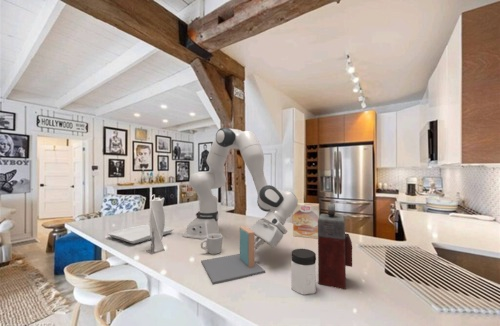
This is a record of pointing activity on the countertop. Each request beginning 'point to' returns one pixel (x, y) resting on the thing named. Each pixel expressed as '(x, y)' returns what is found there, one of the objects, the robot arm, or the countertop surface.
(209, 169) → the robot arm
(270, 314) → the countertop surface
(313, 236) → the coffeecake box
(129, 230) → the square plate
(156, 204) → the skyscraper
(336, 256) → the dark red grey-topped box
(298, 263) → the jar
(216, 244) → the cup
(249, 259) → the peach rectangular block
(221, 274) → the mat
